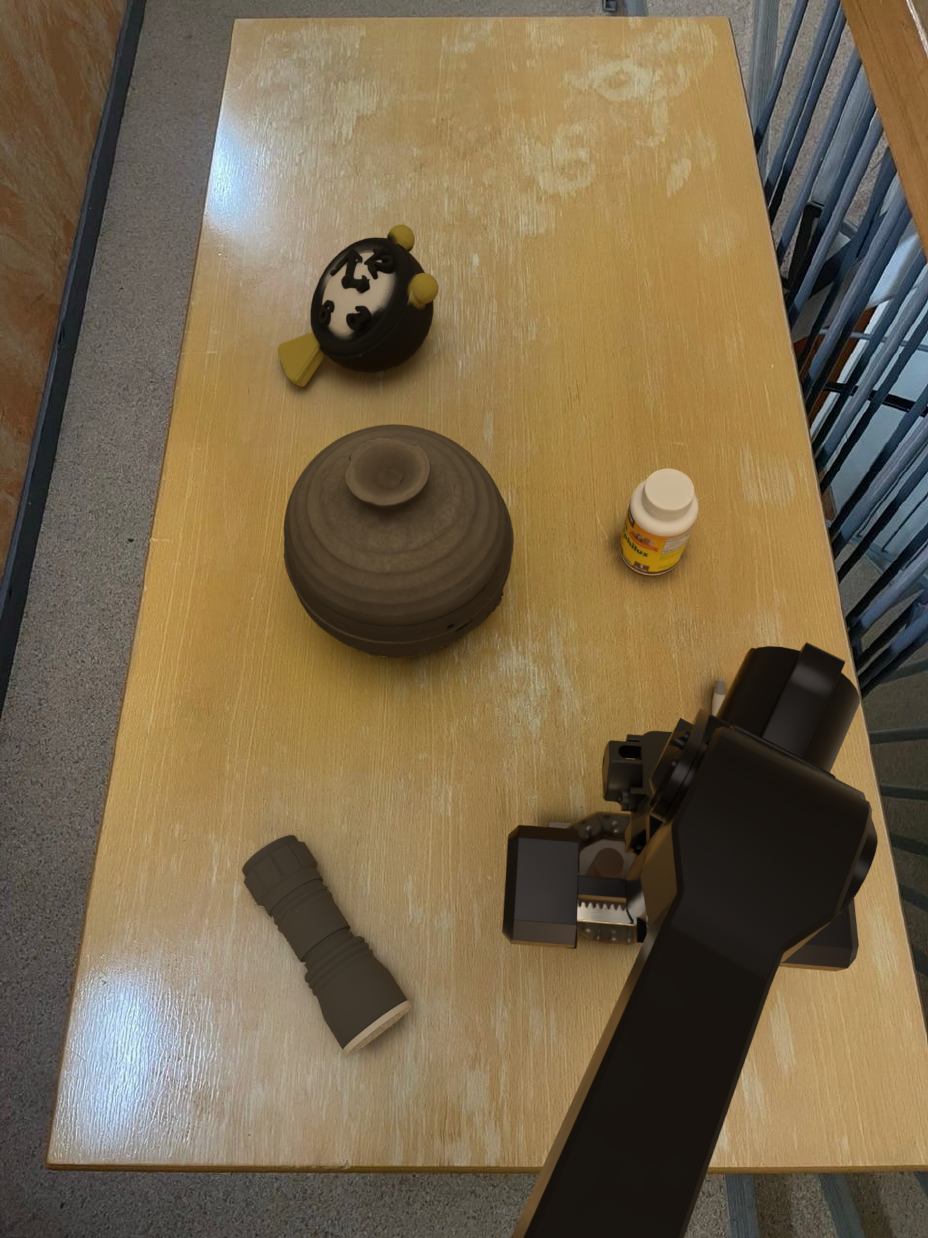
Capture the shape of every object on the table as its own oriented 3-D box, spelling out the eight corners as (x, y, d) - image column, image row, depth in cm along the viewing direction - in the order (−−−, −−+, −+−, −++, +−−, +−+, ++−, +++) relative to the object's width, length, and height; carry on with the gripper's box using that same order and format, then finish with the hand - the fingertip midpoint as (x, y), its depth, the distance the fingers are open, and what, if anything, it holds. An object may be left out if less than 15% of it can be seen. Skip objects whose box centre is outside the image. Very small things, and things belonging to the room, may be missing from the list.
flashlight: (244, 878, 71) (225, 865, 66) (303, 836, 72) (289, 820, 67) (352, 1056, 65) (341, 1057, 60) (414, 1007, 67) (408, 1004, 62)
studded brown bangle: (677, 951, 67) (681, 949, 65) (545, 940, 67) (546, 937, 66) (675, 820, 71) (679, 814, 69) (550, 810, 71) (552, 805, 70)
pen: (724, 682, 77) (728, 676, 75) (714, 849, 71) (718, 845, 70) (711, 680, 77) (715, 674, 75) (701, 847, 71) (705, 843, 70)
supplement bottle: (607, 537, 83) (622, 472, 73) (662, 515, 84) (683, 449, 74) (635, 587, 80) (654, 528, 71) (692, 565, 81) (718, 503, 72)
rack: (650, 939, 68) (668, 927, 61) (542, 930, 69) (548, 917, 62) (650, 831, 72) (667, 809, 65) (547, 823, 72) (553, 800, 65)
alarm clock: (320, 336, 98) (333, 191, 88) (443, 383, 96) (471, 239, 86) (261, 377, 90) (267, 222, 80) (394, 430, 87) (418, 276, 77)
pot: (294, 512, 84) (266, 370, 66) (489, 504, 85) (513, 363, 67) (297, 699, 77) (266, 597, 58) (509, 686, 78) (543, 582, 60)
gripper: (882, 726, 47) (789, 804, 61) (518, 699, 48) (509, 783, 62) (910, 956, 42) (802, 983, 56) (504, 922, 43) (498, 957, 57)
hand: (649, 918), depth 58 cm, fingers open, 9 cm apart
